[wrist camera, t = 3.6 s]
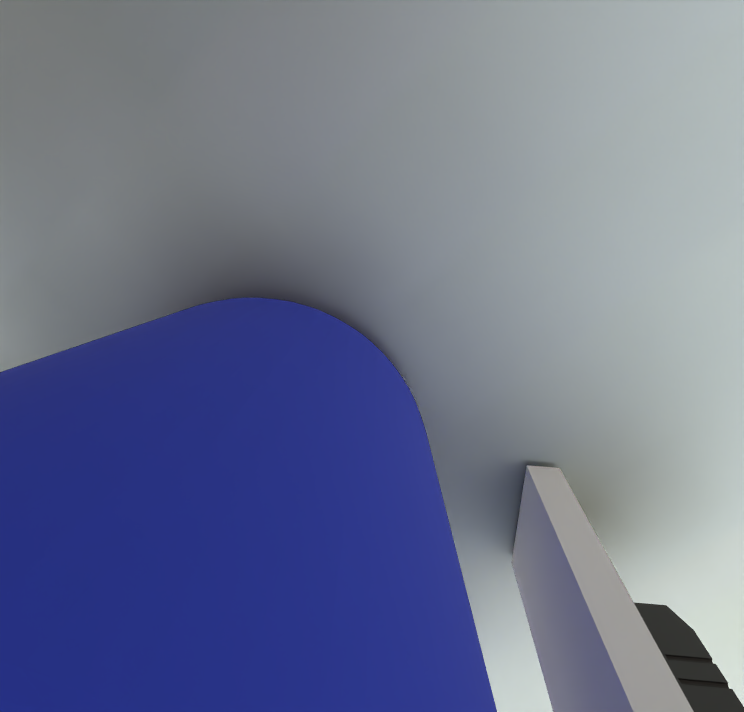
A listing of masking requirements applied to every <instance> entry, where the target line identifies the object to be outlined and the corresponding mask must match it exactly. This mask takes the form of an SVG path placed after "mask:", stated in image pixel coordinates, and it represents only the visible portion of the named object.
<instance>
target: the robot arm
mask: <svg viewBox="0 0 744 712" xmlns="http://www.w3.org/2000/svg"><path fill="white" fill-rule="evenodd" d="M512 566H513V569H514V573H515V576H516V580H517V583H518V587H519V590H520V594H521V598H522V601H523V605H524V608H525V612H526V615H527V619H528V623H529V626H530V630H531V633H532V637H533V640H534V644H535V648H536V651H537V655H538V658H539V662H540V665H541V669H542V673H543V676H544V680H545V683H546V687H547V690H548V694H549V698H550V701H551V705H552V708H553V712H744V707H743V705H742V704H741V702H740V701H739V699H738V698H737V696H736V694H735V693H734V691H733V690H732V689H729V687H728V682H727V681H726V679H725V678H724V676H723V675H722V673H721V671H720V670H719V668H718V667H717V665H716V664H713V663H712V658H711V656H710V655H709V653H708V651H707V650H706V648H705V647H704V645H703V644H702V642H701V641H700V639H699V638H698V636H697V635H696V633H695V631H694V630H693V629H692V628H691V627H690V626H688V625H687V624H686V623H685V622H684V621H683V620H682V619H681V618H680V617H678V616H677V615H676V614H675V613H674V612H673V611H672V610H671V609H670V608H669V607H667V606H666V605H655V604H644V603H634V602H633V600H632V599H631V597H630V595H629V593H628V591H627V589H626V588H625V586H624V584H623V582H622V580H621V579H620V577H619V575H618V573H617V571H616V569H615V568H614V566H613V564H612V562H611V560H610V558H609V557H608V555H607V553H606V551H605V549H604V548H603V546H602V544H601V542H600V540H599V538H598V537H597V535H596V533H595V531H594V529H593V527H592V526H591V524H590V522H589V520H588V518H587V517H586V515H585V513H584V511H583V509H582V507H581V506H580V504H579V502H578V500H577V498H576V497H575V495H574V493H573V491H572V489H571V487H570V486H569V484H568V482H567V480H566V478H565V476H564V475H563V473H562V471H561V469H560V468H555V467H542V466H528V465H527V467H526V473H525V480H524V486H523V493H522V499H521V506H520V512H519V518H518V525H517V531H516V538H515V544H514V551H513V557H512Z"/></svg>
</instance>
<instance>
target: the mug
mask: <svg viewBox="0 0 744 712" xmlns="http://www.w3.org/2000/svg"><path fill="white" fill-rule="evenodd" d="M0 712H497V710H496V706H495V702H494V698H493V694H492V690H491V686H490V683H489V679H488V675H487V671H486V667H485V663H484V659H483V655H482V651H481V647H480V643H479V639H478V635H477V631H476V627H475V623H474V619H473V615H472V611H471V608H470V604H469V600H468V596H467V592H466V588H465V584H464V580H463V576H462V572H461V568H460V564H459V560H458V556H457V552H456V548H455V544H454V540H453V536H452V533H451V529H450V525H449V521H448V517H447V513H446V509H445V505H444V501H443V497H442V493H441V489H440V485H439V481H438V477H437V473H436V469H435V465H434V462H433V458H432V454H431V450H430V446H429V442H428V438H427V434H426V431H425V428H424V424H423V421H422V418H421V415H420V412H419V410H418V407H417V404H416V402H415V400H414V398H413V396H412V394H411V392H410V390H409V388H408V386H407V385H406V383H405V381H404V380H403V378H402V377H401V375H400V374H399V372H398V371H397V370H396V368H395V367H394V366H393V364H392V363H391V362H390V361H389V360H388V358H387V357H386V356H385V355H384V354H383V353H382V352H381V351H380V350H379V349H378V348H377V347H376V346H375V345H374V344H373V343H372V342H371V341H370V340H368V339H367V338H366V337H365V336H364V335H362V334H361V333H359V332H358V331H357V330H355V329H354V328H352V327H351V326H349V325H347V324H346V323H344V322H342V321H341V320H339V319H337V318H335V317H333V316H331V315H329V314H327V313H324V312H322V311H320V310H318V309H315V308H312V307H308V306H305V305H302V304H298V303H295V302H290V301H284V300H278V299H267V298H232V299H226V300H220V301H214V302H209V303H206V304H202V305H198V306H194V307H191V308H188V309H185V310H182V311H179V312H176V313H173V314H170V315H167V316H165V317H162V318H159V319H156V320H153V321H150V322H147V323H144V324H141V325H138V326H135V327H132V328H129V329H126V330H123V331H120V332H117V333H115V334H112V335H109V336H106V337H103V338H100V339H97V340H94V341H91V342H88V343H85V344H82V345H79V346H76V347H73V348H70V349H67V350H64V351H62V352H59V353H56V354H53V355H50V356H47V357H44V358H41V359H38V360H35V361H32V362H29V363H26V364H23V365H20V366H17V367H14V368H12V369H9V370H6V371H3V372H0Z"/></svg>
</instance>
